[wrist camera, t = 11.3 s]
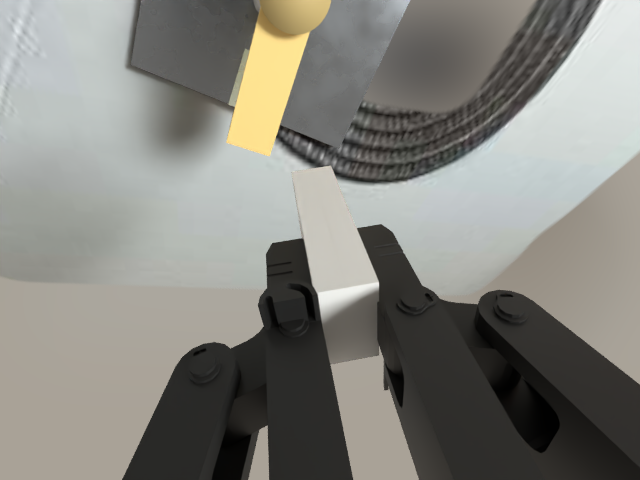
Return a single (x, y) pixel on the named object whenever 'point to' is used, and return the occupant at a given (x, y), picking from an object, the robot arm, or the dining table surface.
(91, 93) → the dining table surface
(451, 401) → the robot arm
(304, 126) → the base
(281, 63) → the bar
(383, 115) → the dining table surface
